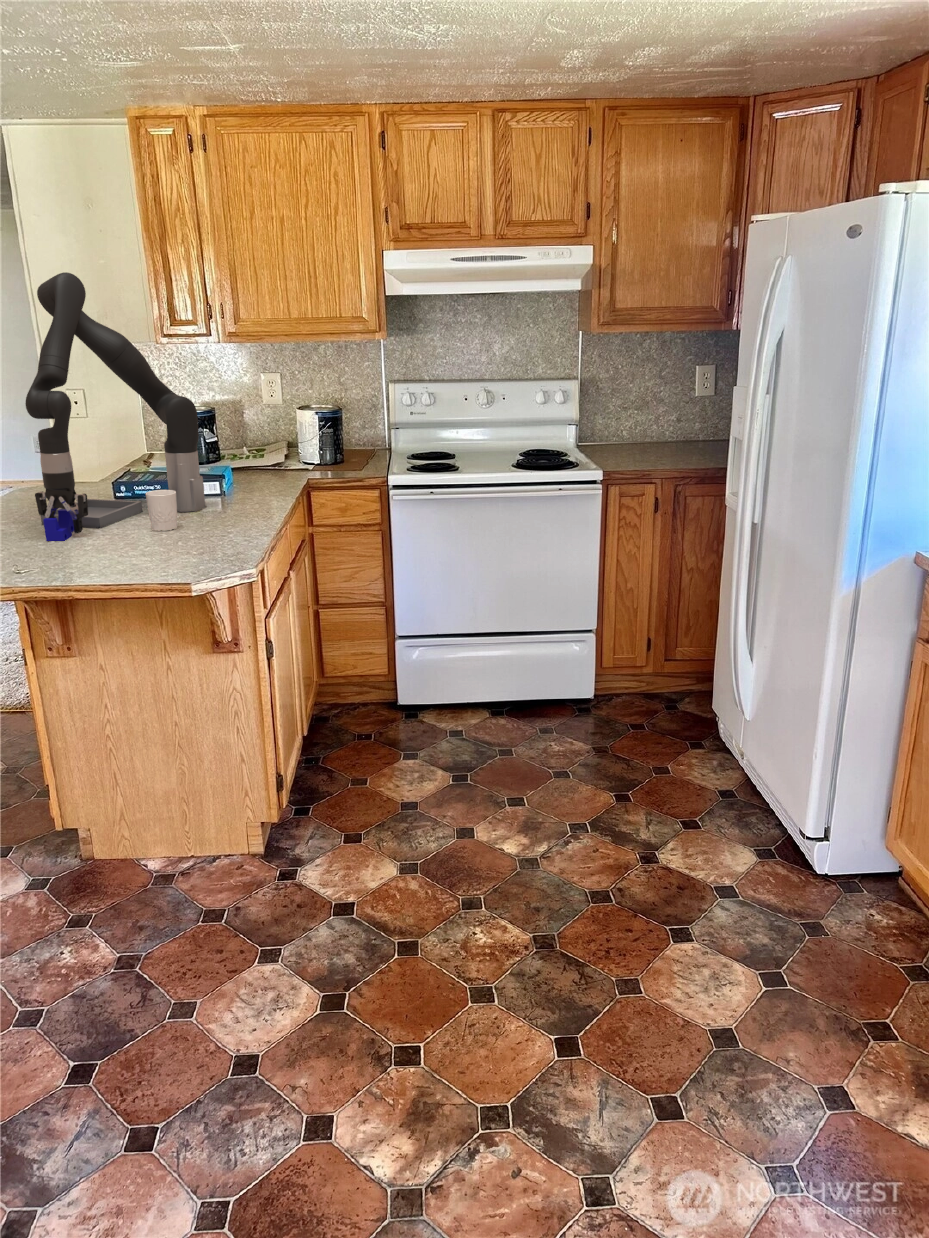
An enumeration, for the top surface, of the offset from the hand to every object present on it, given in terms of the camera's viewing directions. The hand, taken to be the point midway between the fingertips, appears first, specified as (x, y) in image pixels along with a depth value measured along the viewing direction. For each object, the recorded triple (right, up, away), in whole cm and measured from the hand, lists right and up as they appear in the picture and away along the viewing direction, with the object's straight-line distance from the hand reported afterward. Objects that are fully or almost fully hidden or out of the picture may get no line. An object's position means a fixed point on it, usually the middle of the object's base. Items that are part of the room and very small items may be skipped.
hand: (65, 531), depth 245 cm
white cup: (+24, +1, +8) cm, 25 cm away
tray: (0, +6, +20) cm, 21 cm away
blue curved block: (-1, -1, 0) cm, 2 cm away
